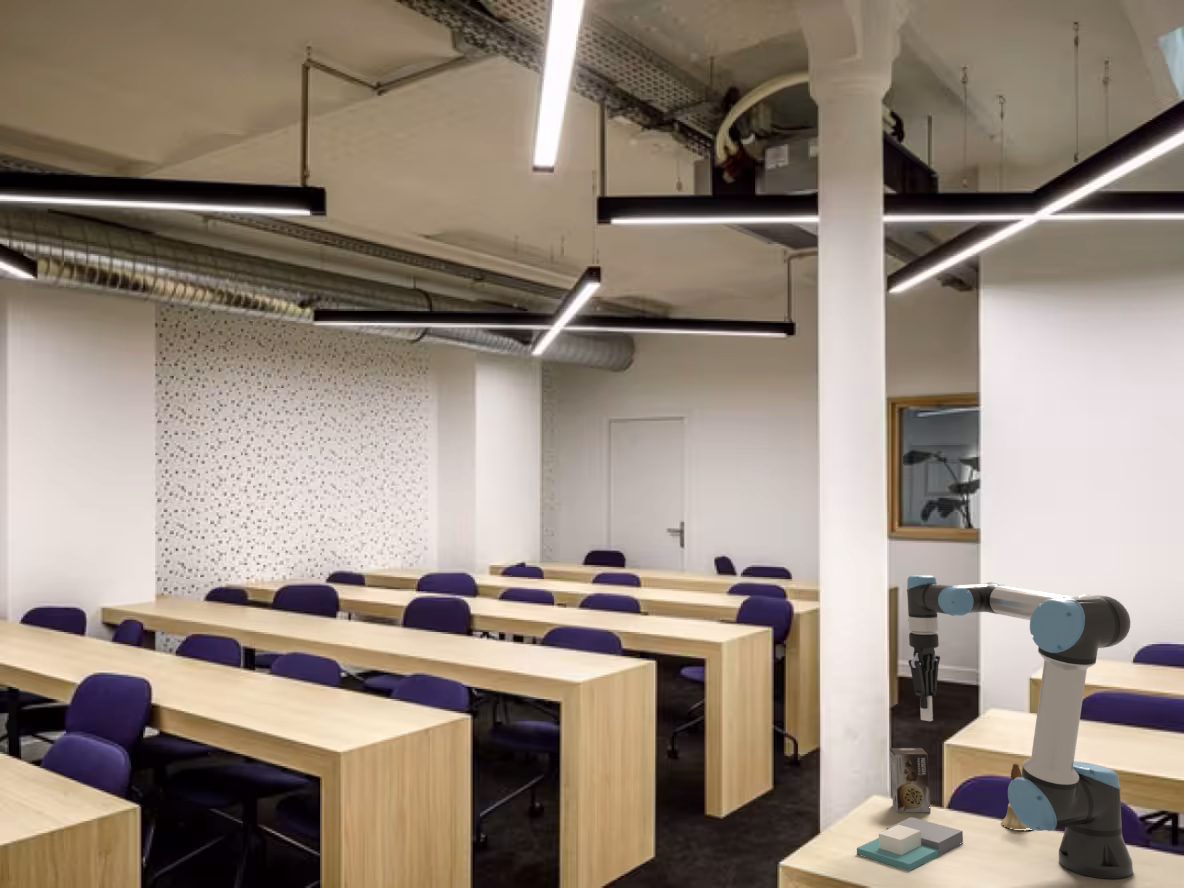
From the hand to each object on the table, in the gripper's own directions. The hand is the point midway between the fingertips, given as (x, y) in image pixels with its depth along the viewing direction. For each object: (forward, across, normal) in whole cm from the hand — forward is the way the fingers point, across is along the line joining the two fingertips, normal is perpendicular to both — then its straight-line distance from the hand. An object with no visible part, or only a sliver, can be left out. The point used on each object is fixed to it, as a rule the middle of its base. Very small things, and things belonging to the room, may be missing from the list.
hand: (926, 720), depth 247 cm
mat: (+26, +29, +7) cm, 40 cm away
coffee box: (+27, -4, -8) cm, 28 cm away
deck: (+26, +16, +7) cm, 32 cm away
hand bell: (+27, -12, +18) cm, 34 cm away
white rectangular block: (+25, +27, +7) cm, 38 cm away
